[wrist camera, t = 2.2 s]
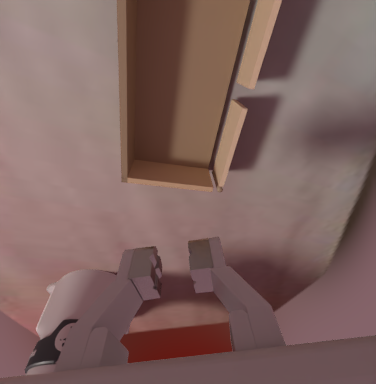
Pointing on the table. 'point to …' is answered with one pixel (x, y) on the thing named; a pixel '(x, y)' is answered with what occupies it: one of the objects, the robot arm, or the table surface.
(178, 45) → the carton
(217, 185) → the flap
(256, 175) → the table surface
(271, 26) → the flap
